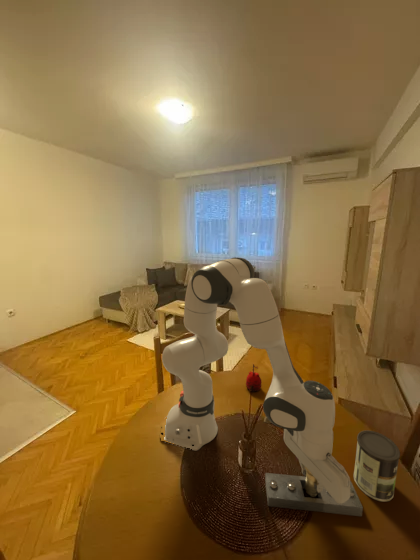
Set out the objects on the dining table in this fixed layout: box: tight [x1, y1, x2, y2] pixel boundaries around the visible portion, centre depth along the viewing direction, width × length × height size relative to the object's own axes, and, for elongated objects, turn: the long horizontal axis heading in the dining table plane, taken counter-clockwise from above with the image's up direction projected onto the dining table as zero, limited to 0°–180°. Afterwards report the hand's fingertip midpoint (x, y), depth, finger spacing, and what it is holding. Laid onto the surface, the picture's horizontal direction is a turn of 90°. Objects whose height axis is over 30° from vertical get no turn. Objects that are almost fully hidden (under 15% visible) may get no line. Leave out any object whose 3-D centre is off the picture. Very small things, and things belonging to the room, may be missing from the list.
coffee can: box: [353, 429, 401, 502], centre depth 71 cm, size 10×10×14 cm
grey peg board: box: [264, 472, 364, 517], centre depth 69 cm, size 25×7×4 cm, turn 83°
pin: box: [304, 467, 318, 498], centre depth 67 cm, size 4×4×8 cm
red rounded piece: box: [245, 363, 262, 392], centre depth 116 cm, size 8×7×15 cm
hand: (311, 481), depth 68 cm, fingers closed on pin, 3 cm apart
